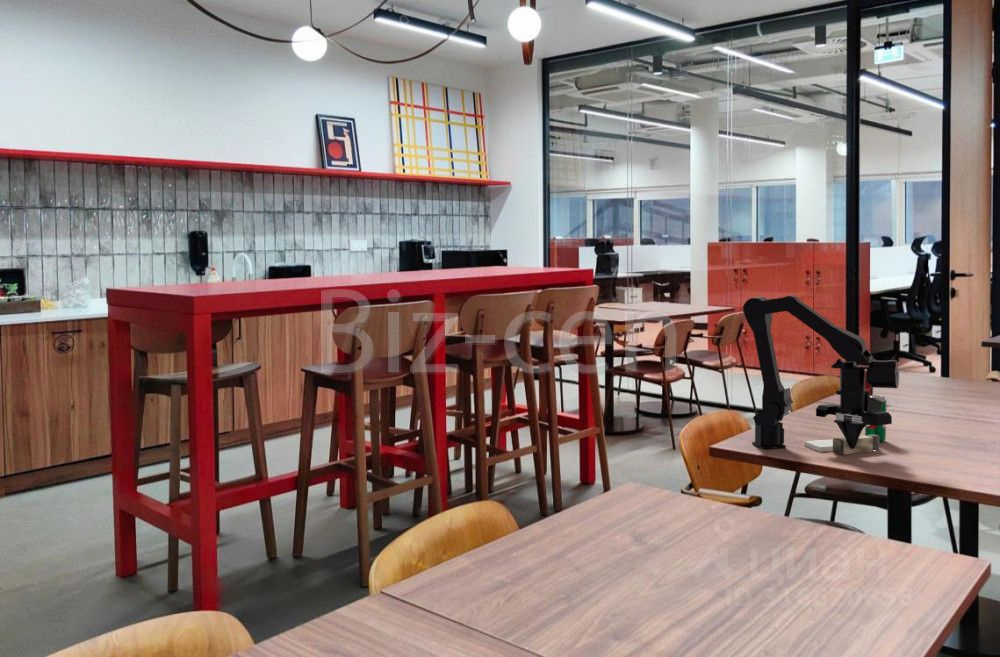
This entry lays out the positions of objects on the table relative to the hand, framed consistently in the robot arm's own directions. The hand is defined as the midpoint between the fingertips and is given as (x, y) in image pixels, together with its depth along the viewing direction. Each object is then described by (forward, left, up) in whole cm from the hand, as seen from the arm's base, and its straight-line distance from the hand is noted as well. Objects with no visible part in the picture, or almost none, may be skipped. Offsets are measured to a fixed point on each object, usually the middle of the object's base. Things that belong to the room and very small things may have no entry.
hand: (852, 448), depth 206 cm
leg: (+4, +3, -2) cm, 5 cm away
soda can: (+16, +13, -2) cm, 20 cm away
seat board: (+3, +7, -2) cm, 8 cm away
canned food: (+49, +67, -2) cm, 83 cm away
